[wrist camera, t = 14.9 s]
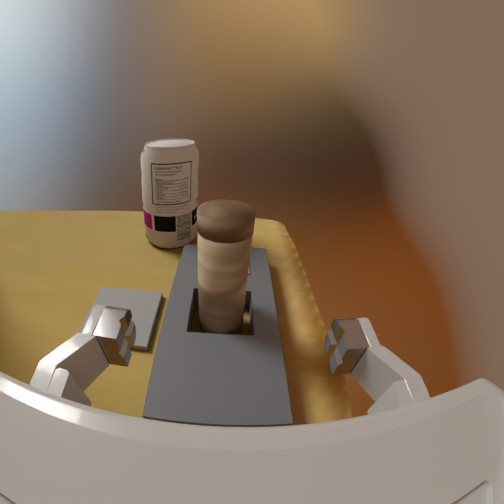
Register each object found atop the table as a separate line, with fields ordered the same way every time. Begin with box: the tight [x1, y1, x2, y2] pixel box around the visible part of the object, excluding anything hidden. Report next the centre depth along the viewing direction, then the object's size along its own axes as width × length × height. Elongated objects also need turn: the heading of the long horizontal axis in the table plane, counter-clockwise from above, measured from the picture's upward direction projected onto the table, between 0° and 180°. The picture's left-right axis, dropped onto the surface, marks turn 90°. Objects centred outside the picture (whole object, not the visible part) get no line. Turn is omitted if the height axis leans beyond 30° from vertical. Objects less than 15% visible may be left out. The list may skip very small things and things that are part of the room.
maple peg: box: [197, 200, 256, 335], centre depth 24 cm, size 4×4×13 cm
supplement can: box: [141, 139, 199, 248], centre depth 38 cm, size 8×8×15 cm
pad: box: [79, 287, 163, 351], centre depth 26 cm, size 8×8×1 cm
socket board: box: [143, 244, 293, 427], centre depth 27 cm, size 24×11×3 cm, turn 3°
